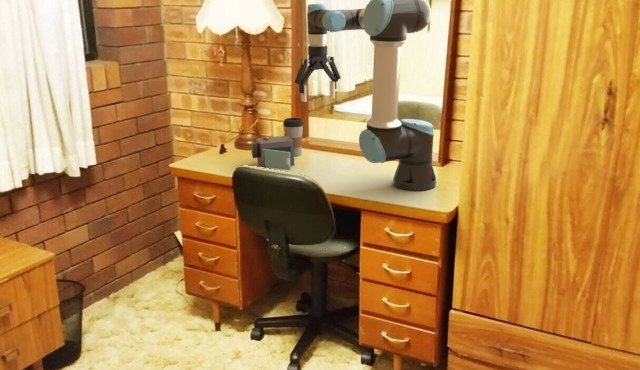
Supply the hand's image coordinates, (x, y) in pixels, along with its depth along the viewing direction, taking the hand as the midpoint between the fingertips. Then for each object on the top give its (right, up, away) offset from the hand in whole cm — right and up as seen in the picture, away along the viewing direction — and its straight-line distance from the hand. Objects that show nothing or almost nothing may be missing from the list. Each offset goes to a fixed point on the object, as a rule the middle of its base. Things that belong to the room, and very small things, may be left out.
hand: (318, 99), depth 249 cm
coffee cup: (-10, -21, +14) cm, 27 cm away
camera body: (-18, -26, +1) cm, 31 cm away
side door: (-16, -28, -8) cm, 33 cm away
